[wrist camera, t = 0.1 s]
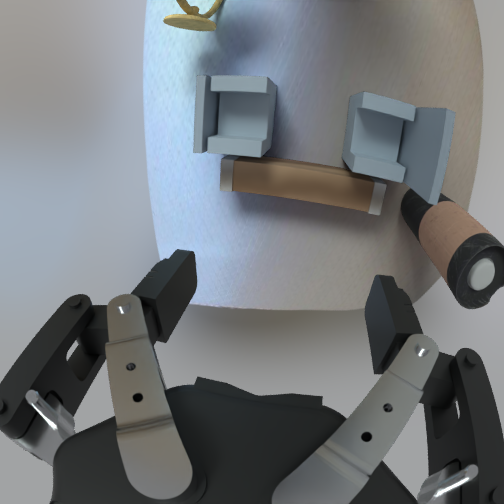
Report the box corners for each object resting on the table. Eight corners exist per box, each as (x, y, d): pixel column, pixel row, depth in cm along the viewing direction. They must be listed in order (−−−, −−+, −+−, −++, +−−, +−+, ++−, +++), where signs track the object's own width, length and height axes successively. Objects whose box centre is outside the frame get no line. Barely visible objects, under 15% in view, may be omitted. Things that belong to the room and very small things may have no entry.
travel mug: (397, 184, 35) (461, 249, 18) (440, 180, 33) (518, 238, 16) (400, 231, 38) (448, 316, 21) (440, 226, 36) (502, 302, 19)
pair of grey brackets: (223, 83, 33) (171, 69, 19) (400, 109, 30) (455, 112, 16) (219, 142, 37) (168, 163, 24) (390, 168, 34) (436, 205, 20)
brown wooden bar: (232, 152, 38) (221, 159, 33) (376, 174, 35) (386, 184, 30) (231, 179, 40) (219, 190, 35) (370, 201, 37) (379, 215, 32)
